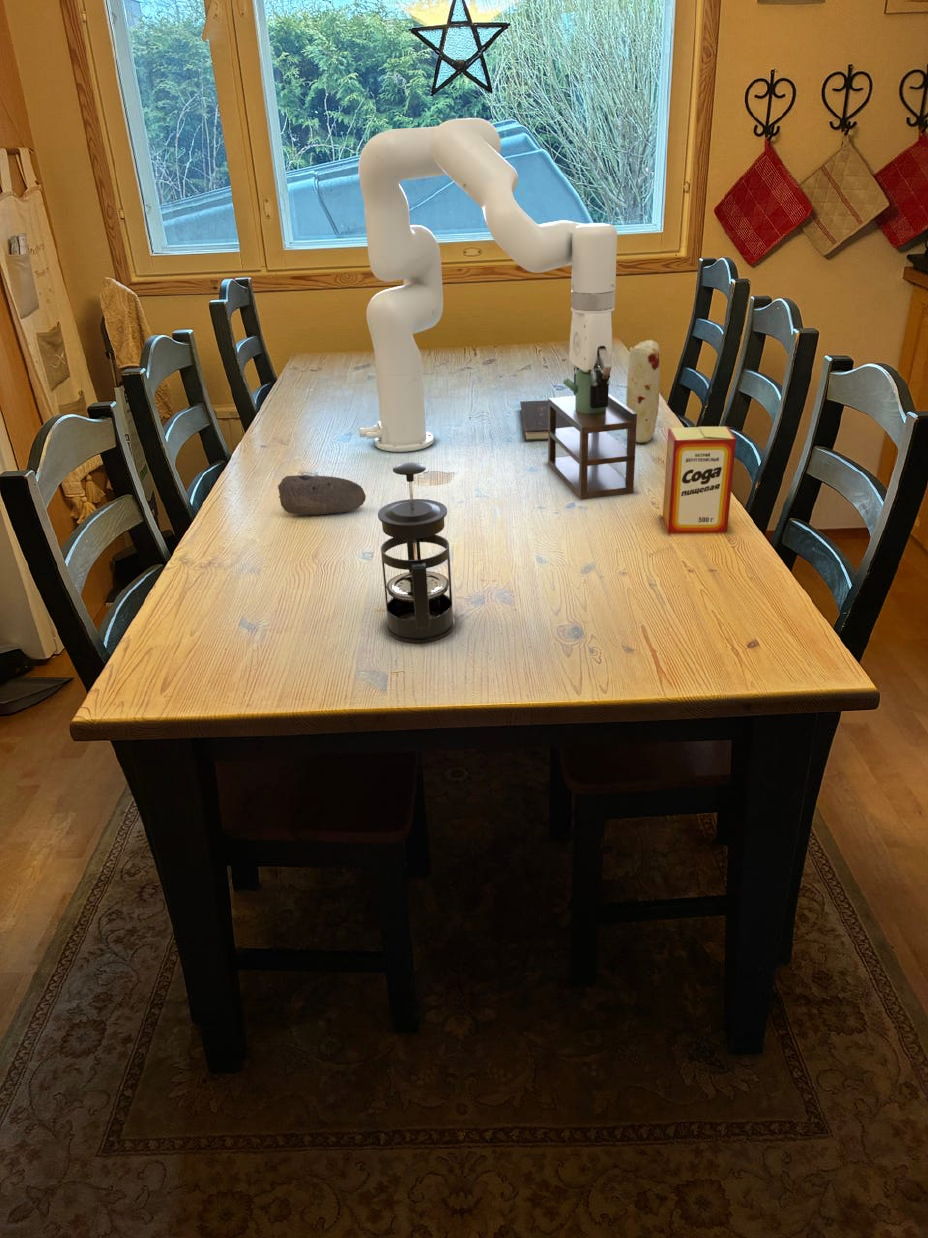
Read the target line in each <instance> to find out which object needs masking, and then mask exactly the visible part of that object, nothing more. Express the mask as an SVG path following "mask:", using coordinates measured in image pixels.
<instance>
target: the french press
mask: <svg viewBox="0 0 928 1238" xmlns="http://www.w3.org/2000/svg"><path fill="white" fill-rule="evenodd" d="M426 469H427V467H426V465H425V464H422V463H419V462H404V463H399V464H397V465H395V466H394V467H393V468H392V472H393V473H395V474H396V475H402V476H405V478H406V482H408V488H409V498H408V499H402V500H397V501H394V502H391V503H388V504H385V505H384V506H382V507H381V508H380V509H379V510H378V511H377V518H378V520H379V521H380V522H381V527H382V529H381V530H382V532H383V533H384V534H385V535H387V536H388V537H391V538H389V539H387V540H385V541H384V542H383V543H382V545H381V547H380V553H381V565H382V575H383V586H384V600H385V608H386V619H387V622H386V627H385V628H386V632H387V634H388V635H389V636H390V637H392V638H393V639H395V640H397V641H400V642H404V643H408V644H409V643H411V644H424V643H430V642H431V643H432V642H434V641H438V640H441V639H444V638H445V637H448V636H449V635H450V634H451V633H452V632H453V631H454V629H455V627H456V620H455V618H454V615H453V613H454V611H453V591H452V576H451V575H452V574H451V573H452V572H451V555H450V543H449V541H448V540H447V539H446V538H445V537H443V536H441V535H439V533H441V532H442V531H443V530H444V529H445V517H447V515H448V508H447V506H446V505H445V504H444V503H442V502H439V501H436V500H432V499H427V498H426V499H425V498H414V494H413V492H414V491H413V482H414V481H415V477H414V475H418V474H421V473H423V472H425V471H426ZM421 543H428V544H434V545H438V546H441V547H442V548H444V549H445V550H444V551H442V552H441V553H439V554H437V555H433V556H430V557H427V558H422V557H421V555H422V553H421ZM405 544H406V548H407V549H406V551H407V559H401V558H396V557H392V556H390V555H388V554H386V553H387V552H388V551H389V550H391V549H392V548H395V547H397V546H401V545H405ZM444 562H446V563H447V577H446V576H445V575H443V574H442V573H439V572H435V571H428V570H427V569H430V568H434V567H436V566H439V565H441V564H443V563H444ZM386 565H387V566H388V567H391V568H394V569H398V570H405V571H408V572H404V573H401V574H398V575H396V576H393V577H391V578H390V579H389V580H388V581H387V578H386V567H385V566H386ZM447 591H448V595H447V594H445V593H446V592H447ZM388 594H389V596H390V597H392V598H391V599H389V600H388ZM413 614H414V619H409V618H408V619H407V618H404V617H406V616H407V617H408V616H410V615H413ZM430 614H433V615H437V616H434V617H431V616H430Z"/></svg>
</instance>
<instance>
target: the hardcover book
mask: <svg viewBox="0 0 928 1238" xmlns="http://www.w3.org/2000/svg"><path fill="white" fill-rule="evenodd" d="M519 404H520V410H519V411H520V418H521V425H522V431H523V439H524V442H545V441H546V442H548V405H549V404H548V399H547V400H523V401H522V400H521V401H520V402H519ZM566 427H574V426H573V425H571V424H570V423H569V422H568V421H567V420H566V419H565V418H563V417H562V416H561V415H560V414H559V413H558V412H557V411H556V429H557V428H566Z"/></svg>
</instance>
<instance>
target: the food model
mask: <svg viewBox="0 0 928 1238" xmlns="http://www.w3.org/2000/svg"><path fill="white" fill-rule="evenodd" d="M627 363H628V367H627V380H626V394H625V395H626V396H625V397H626V399H625V401H626V402H625V403H626V404H625V405H626V406H627V407H628V408H630V409H631V410H633V411H634V412H635V413H637V421H636V422H637V426H636V443H638V444H642V443H647V442H649V441H650V440H651V439H653V436H654V434H655V432H656V424H657V419H658V414H659V408H660V407H659V406H660V405H659V404H660V384H661V382H660V381H661V351H660V345H659V344H658V342H656V341H654V340H653V339H646V340H644V341H640V342H639V343H638V344H636V345H634V347H632V346H631V347H630V348H629V353H628V362H627ZM627 434H628V429H625V436H627Z"/></svg>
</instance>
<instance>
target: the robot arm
mask: <svg viewBox="0 0 928 1238" xmlns="http://www.w3.org/2000/svg"><path fill="white" fill-rule="evenodd" d="M501 149H502V143H501V138H500V134H499V131H498V130H497V128H496V127H495V126H494V124H492V123H491V122H490V121H488V120H487V119H484V118H480V117H468V118H466V117H465V118H453V119H452V118H451V119H448V120H446V121H444V122H442V123H440V124H439V125H436V126H429V127H428V126H426V127H405V128H393V129H388V130H384V131H382V132H378V133H377V134H375V135H373V136H372V137H371V138H370V139H368V141H367V142H366V143H365V145H364V147H363V148H362V150H361V153H360V155H359V160H358V179H359V186H360V191H361V195H362V200H363V207H364V221H365V232H366V233H365V234H366V243H367V255H368V262H369V267H370V271H371V273H372V274H373V276H374V277H375V278H376V279H378V280H379V281H382V282H385V283H386V282H387V283H389V282H396V281H401V280H403V285H399V286H395V287H391V288H387V289H384V290H382V291H379V292H378V293H376V294H375V295H374V296H373V297H371V299H370V300H369V302H368V303H367V307H366V312H365V314H366V315H365V317H366V318H365V319H366V323H367V327H368V330H369V335H370V338H371V342H372V347H373V354H374V364H375V365H374V366H375V373H376V374H375V375H376V385H377V397H378V408H379V419H380V420H378V421H377V425H373V427H359V428H358V434H359V438H366V439H367V440H372V439H374V445H375V447H376V448H377V449H378V450H382V451H384V452H385V451H387V452H394V453H403V452H404V453H407V452H413V451H418V450H423V449H426V448H428V447H430V446H431V445H433V443H434V442H435V438H434V435H433V433H432V432H430V431H427V426H426V425H427V424H426V409H425V392H424V376H423V375H424V374H423V363H422V355H421V351H420V349H419V346H418V345H417V343H416V340H415V338H414V335H415V334H417V333H421V332H424V331H426V330H429V329H431V328H433V327H435V326H436V325H437V324H438V323H439V321H440V320H441V318H442V315H443V311H444V291H443V271H442V269H443V268H442V255H441V254H442V253H441V249H440V246H439V243H438V240H437V238H436V237H435V235H434V233H433V232H432V231H431V230H430V229H428V228H427V227H425V226H423V225H421V224H411V220H410V206H409V202H408V199H407V196H406V194H405V193H406V192H405V191H404V189H403V187H402V186H401V184H400V183H401V182H403V181H409V180H420V179H426V178H435V177H441V176H448V177H449V178H450V179H451V181H453V182H454V183H455V184H456V185H457V186H458V187H459V188H460V189H461V190H462V191H463V192H465V194H466V195H467V196H468V197H469V198H470V199H471V200H472V201H473V202H474V203H475V204H476V205H477V206H478V207H479V209H481V210H482V213H483V218H484V221H485V223H486V226H487V229H488V232H489V233H490V235H491V237H492V239H493V240H494V242H495V243H496V244H497V246H499V248H500V249H501V250H502V251H503V252H504V253H505V254H507V256H508V257H509V258H510V259H511V260H512V261H514V262H515V264H517V265H518V266H519V267H521V268H522V269H523V270H525V271H527V272H530V273H534V274H542V273H545V272H549V271H553V270H555V269H556V270H557V269H561V268H565V267H569V266H571V283H570V284H571V287H570V289H571V291H570V292H571V293H570V296H571V298H570V299H571V300H570V311H571V312H572V314H571V320H570V321H571V322H570V331H569V333H570V335H569V351H568V352H569V354H568V359H569V362H570V363H571V364H572V365H573V383H575V384H576V370H577V369H581V370H582V371H584V372H588V371H589V370H590V373H591V378H592V384H593V385H590V407H591V408H603V407H607V406H608V393H609V390H610V388H609V386H610V384H611V383H610V378H611V371H612V357H613V328H612V327H613V325H612V312H614V311H616V309H615V308H616V283H617V255H618V254H617V253H618V231H617V228H616V227H615V226H614V225H612V224H610V223H603V222H601V223H600V222H599V223H597V222H596V223H593V222H592V223H582V222H577V221H572V220H564V219H563V220H557V221H549V222H545V223H540V224H538V223H537V222H536V221H535V220H534V219H532V217H530V216H529V215H528V213H526V212H525V211H524V210H523V209H522V208H521V206H520V205H519V204H518V202H517V201H516V199H515V197H514V192H515V190H516V188H517V185H518V181H519V177H518V176H519V175H518V172H517V171H516V169H515V167H514V166H512V165H511V164H510V163H509V162H508V161H507V160H506V159H505V158H504V157H503V156H502V155H501ZM594 366H600V367H595V368H594ZM596 373H599V374H598V376H597V377H596ZM573 396H575V392H574V391H573Z"/></svg>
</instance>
